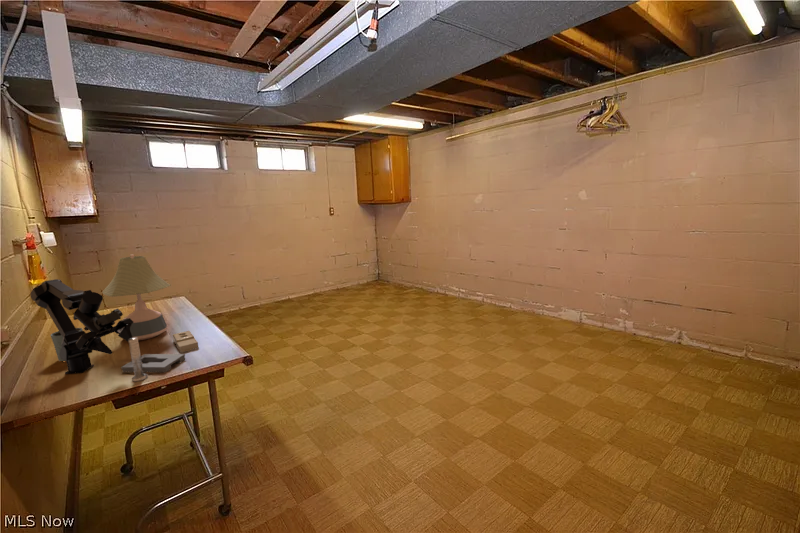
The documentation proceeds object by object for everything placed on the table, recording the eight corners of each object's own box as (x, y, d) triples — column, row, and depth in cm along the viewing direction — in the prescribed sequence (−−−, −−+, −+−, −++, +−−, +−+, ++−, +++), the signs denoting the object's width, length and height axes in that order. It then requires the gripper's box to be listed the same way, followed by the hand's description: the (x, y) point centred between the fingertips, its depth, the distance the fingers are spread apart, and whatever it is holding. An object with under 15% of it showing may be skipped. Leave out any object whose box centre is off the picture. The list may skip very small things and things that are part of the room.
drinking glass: (54, 364, 149) (48, 337, 146) (58, 356, 157) (53, 331, 154) (86, 358, 154) (80, 331, 152) (88, 350, 162) (83, 325, 160)
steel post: (129, 382, 131) (121, 341, 128) (137, 375, 136) (130, 336, 133) (142, 381, 132) (135, 340, 129) (150, 375, 136) (143, 335, 133)
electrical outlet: (179, 344, 156) (172, 334, 170) (180, 353, 157) (173, 342, 170) (197, 340, 161) (189, 330, 174) (198, 348, 161) (190, 338, 175)
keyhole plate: (121, 372, 139) (120, 367, 139) (145, 359, 151) (144, 354, 151) (165, 372, 138) (164, 367, 138) (185, 359, 150) (184, 354, 149)
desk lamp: (124, 350, 161) (107, 260, 153) (105, 338, 178) (89, 256, 170) (185, 333, 181) (173, 253, 173) (163, 323, 198) (151, 249, 190)
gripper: (76, 312, 121) (110, 344, 121) (125, 298, 139) (154, 325, 139) (61, 334, 123) (94, 364, 124) (111, 317, 142) (140, 343, 142)
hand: (123, 348), depth 132 cm, fingers open, 9 cm apart
